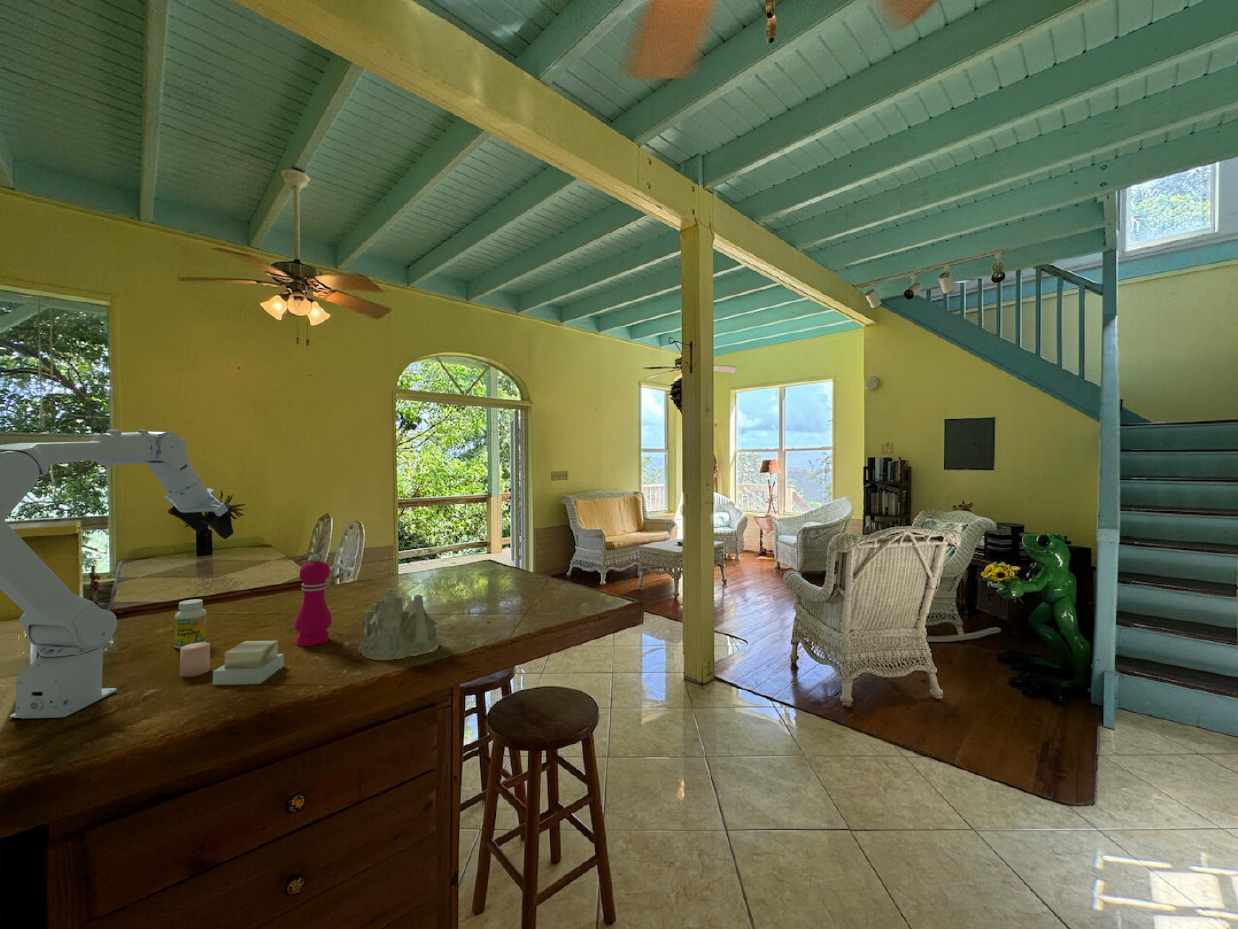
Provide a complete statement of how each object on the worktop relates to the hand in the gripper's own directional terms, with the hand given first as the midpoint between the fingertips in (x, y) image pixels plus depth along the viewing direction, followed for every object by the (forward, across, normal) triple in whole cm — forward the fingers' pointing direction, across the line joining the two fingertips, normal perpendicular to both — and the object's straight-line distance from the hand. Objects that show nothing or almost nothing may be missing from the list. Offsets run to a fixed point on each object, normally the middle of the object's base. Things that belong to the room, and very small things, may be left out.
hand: (215, 532), depth 110 cm
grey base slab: (+13, -25, +20) cm, 34 cm away
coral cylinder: (+13, -14, +22) cm, 29 cm away
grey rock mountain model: (+24, -41, +1) cm, 47 cm away
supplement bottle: (+20, +2, +16) cm, 26 cm away
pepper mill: (+24, -21, +6) cm, 32 cm away
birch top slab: (+11, -25, +18) cm, 33 cm away
